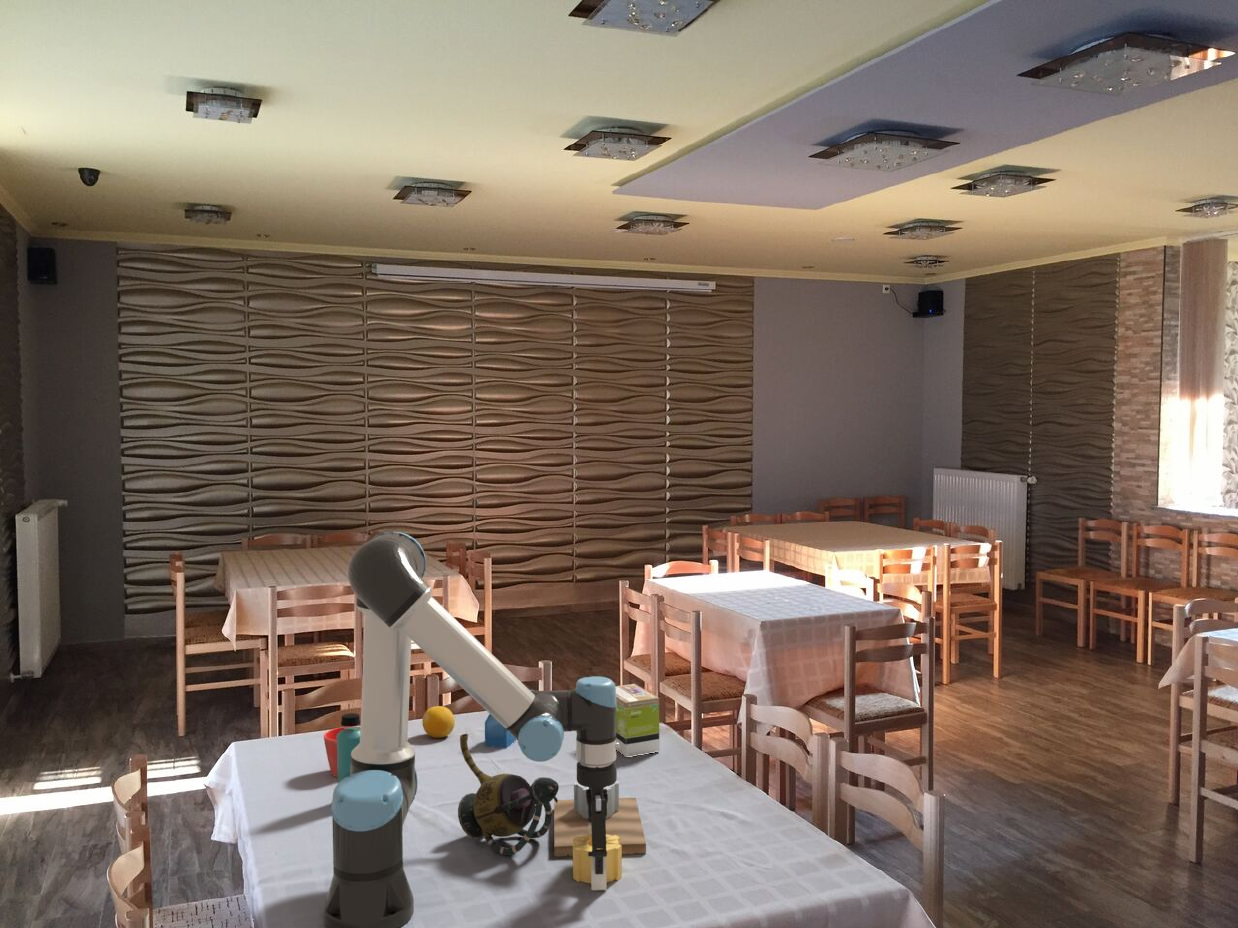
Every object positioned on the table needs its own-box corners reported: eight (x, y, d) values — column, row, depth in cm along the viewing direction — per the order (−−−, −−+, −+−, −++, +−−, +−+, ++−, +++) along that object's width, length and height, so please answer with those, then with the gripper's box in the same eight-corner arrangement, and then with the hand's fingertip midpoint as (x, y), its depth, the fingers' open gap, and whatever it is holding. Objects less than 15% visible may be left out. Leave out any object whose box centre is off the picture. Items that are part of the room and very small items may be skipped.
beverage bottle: (359, 809, 220) (358, 719, 219) (331, 807, 221) (330, 717, 221) (372, 798, 226) (371, 711, 226) (345, 796, 228) (344, 709, 227)
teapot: (471, 869, 199) (558, 840, 188) (426, 749, 204) (509, 714, 193) (507, 847, 210) (592, 818, 199) (464, 733, 214) (545, 699, 203)
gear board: (646, 853, 197) (645, 808, 197) (554, 856, 196) (554, 811, 196) (635, 806, 221) (635, 766, 221) (554, 808, 220) (553, 768, 220)
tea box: (601, 741, 266) (601, 686, 265) (635, 736, 270) (635, 682, 269) (625, 758, 252) (625, 700, 252) (660, 753, 257) (660, 696, 256)
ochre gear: (622, 884, 184) (622, 852, 184) (573, 886, 184) (573, 853, 183) (619, 861, 194) (619, 831, 193) (572, 863, 193) (572, 832, 193)
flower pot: (373, 776, 241) (373, 736, 240) (326, 782, 237) (325, 741, 236) (367, 762, 251) (367, 723, 250) (322, 768, 246) (321, 729, 246)
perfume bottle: (484, 745, 263) (484, 700, 262) (494, 738, 269) (494, 694, 268) (506, 747, 261) (506, 702, 261) (516, 740, 267) (515, 696, 266)
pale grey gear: (626, 812, 213) (626, 784, 212) (590, 822, 208) (590, 793, 207) (602, 798, 220) (601, 771, 220) (566, 807, 215) (566, 780, 215)
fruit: (461, 735, 272) (460, 705, 271) (440, 743, 265) (440, 713, 265) (436, 729, 277) (436, 701, 276) (416, 737, 270) (415, 708, 269)
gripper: (621, 784, 175) (621, 903, 176) (612, 739, 200) (612, 843, 201) (578, 785, 175) (579, 904, 176) (575, 740, 200) (575, 844, 201)
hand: (597, 872), depth 189 cm, fingers open, 13 cm apart
